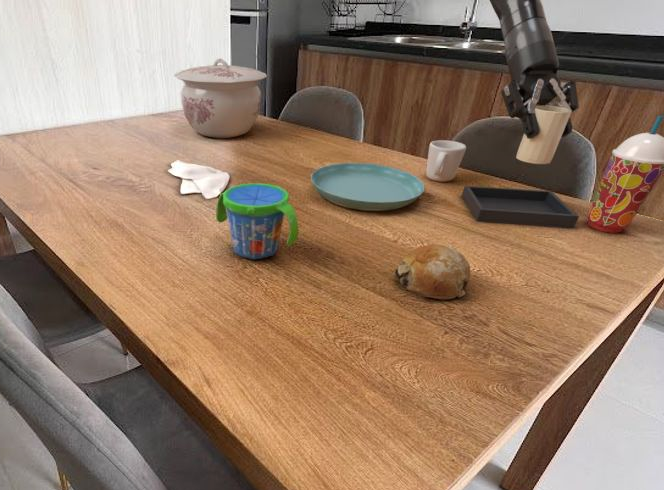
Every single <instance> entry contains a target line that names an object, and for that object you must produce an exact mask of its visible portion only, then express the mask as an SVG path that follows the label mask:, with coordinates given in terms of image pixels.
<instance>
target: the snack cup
mask: <svg viewBox="0 0 664 490" xmlns="http://www.w3.org/2000/svg"><path fill="white" fill-rule="evenodd" d="M289 201H290V194H289V192H288V191H287V190H286V189H284V188H282V187H280V186H279V185H274V184H270V183H259V182H258V183H257V182H256V183H255V182H254V183H253V182H252V183H241V184H238V185H234V186H231V187H229V188H228V189H226V190H225V191H223V192H221V195H218V199H217V203H216V212H215V217H216V221H217V222H218V223H220V224H221V223H224V222H225V221H227V220H228V227H229V232H230V237H231V244H232V248H233V251H234V253H235V254H236V255H238V256H240V257H242V258H245V259H246V258H247V259H249V260H253V261H254V260H261V259H266V258H269V257H273V256H274V255H275V253H276V251H277V249H278V247H279V242H280V237H281V232H282V228H283V223H284V218H285V217H286V218H287V223H288V227H289V233H288V236H287V241H286V246H288V247H290V246H292V245H294V244H295V243H296V241H297V240H298V237H299V221H298V218H297V214H296V211H295V209H294V207H293V206H292V205H291V204H290V203H289Z"/></svg>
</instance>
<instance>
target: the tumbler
mask: <svg viewBox="0 0 664 490" xmlns="http://www.w3.org/2000/svg"><path fill="white" fill-rule="evenodd" d="M571 112H572V110H570V109H568V108H564V107H560V106H559V105H557V106H549V105H536V106H535V111H534V113H533V114H536V118H537V122H538V126H539V130H540V132H539V134H538V135H536V136H535V137H534V138H532V139H528V138H527V136H526V135H525V133H523V135H522V138H521V141H520V144H519V146H518V149H517V152H516V155H515V158H516V159H517V160H519V161H521V162H523V163H528V164H533V165H548V164H551V163H552V160H553V158H554V156H555V153H556V151H557V148H558V146H559V145H560V144H559V143H560V141H561V139H562V137H561V136H562V134H563V131H564V129H565V127H566V124H567V122H568V119H569V117H570V118H571V114H572V113H573V112H572V113H571Z"/></svg>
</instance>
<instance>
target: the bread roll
mask: <svg viewBox="0 0 664 490" xmlns="http://www.w3.org/2000/svg"><path fill="white" fill-rule="evenodd" d="M398 264H399V265H398V267H397V269H395V271H394V274H395V276H396V277H397V279H399V283H400V284H401V285H402V286H403V287H404V288H405V289H407V290H408V291H409V292H410V293H411V292H412V293H413V294H415V295H418V296H419V297H420V298H431V299H436V300H445V301H446V300H453V299H455V298H462V297H464V296H465V295H466V291H465V288H466V287H467V286H468V283H469V280H470V276H471V266H470V263H469V261H468V260H467V258H466V256H465V255H464V254H463V253H461V252H460V251H458V249H457V248H456V247H454V246H447V245H445V244H428V245H422V246H419V247H416V248H415V249H413V250H412V251H410V252H409V253H408V254H406V255H405V256H402V257H401V258H400V261H399V263H398Z"/></svg>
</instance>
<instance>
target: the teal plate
mask: <svg viewBox="0 0 664 490" xmlns="http://www.w3.org/2000/svg"><path fill="white" fill-rule="evenodd" d="M310 180H311V183H312V185H313V187H314V189H315V190H316V192H317V193H318V194H319V195H320V196H321V197H323V198H324V199H326V200H327V201H329V202H330V203H333V204H335V205H337V206H339V207H340V206H341V207H343V208H347V209H352V210H356V211H364V212H365V211H366V212H386V211H393V210H398V209H401V208H403V207H406V206H408V205H410V204H412V203H413V202H415V201H416V200H417V199H419V198H420V197H421V196H422V194H423V193H424V192H425V184H424V182H423V181H422V180H421V179H420V178H419V177H417V176H415V175H413V174H412V173H409V172H407V171H404V170H401V169H398V168H394V167H390V166H387V165H381V164H374V163H366V162H342V163H334V164H329V165H325V166H321V167H318V168H317V169H315V170H314V171H313V172H312V173H311V175H310Z"/></svg>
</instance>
